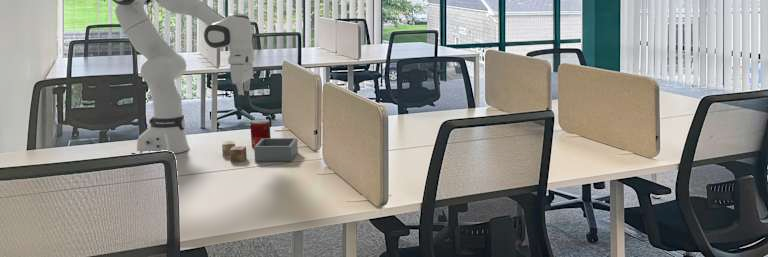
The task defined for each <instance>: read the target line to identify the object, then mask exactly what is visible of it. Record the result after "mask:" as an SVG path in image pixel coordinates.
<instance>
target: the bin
mask: <svg viewBox="0 0 768 257" xmlns="http://www.w3.org/2000/svg"><path fill="white" fill-rule="evenodd" d="M253 149H254V162H255V163H293V161H294V159H295V158H296V157H297V155H298V153H299V147H298V137H286V138H285V137H283V138H282V137H274V138H273V137H272V138H262V139H261V140H260V141H259V142H258V143H257V144H256V145H255V146H254V148H253Z"/></svg>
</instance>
